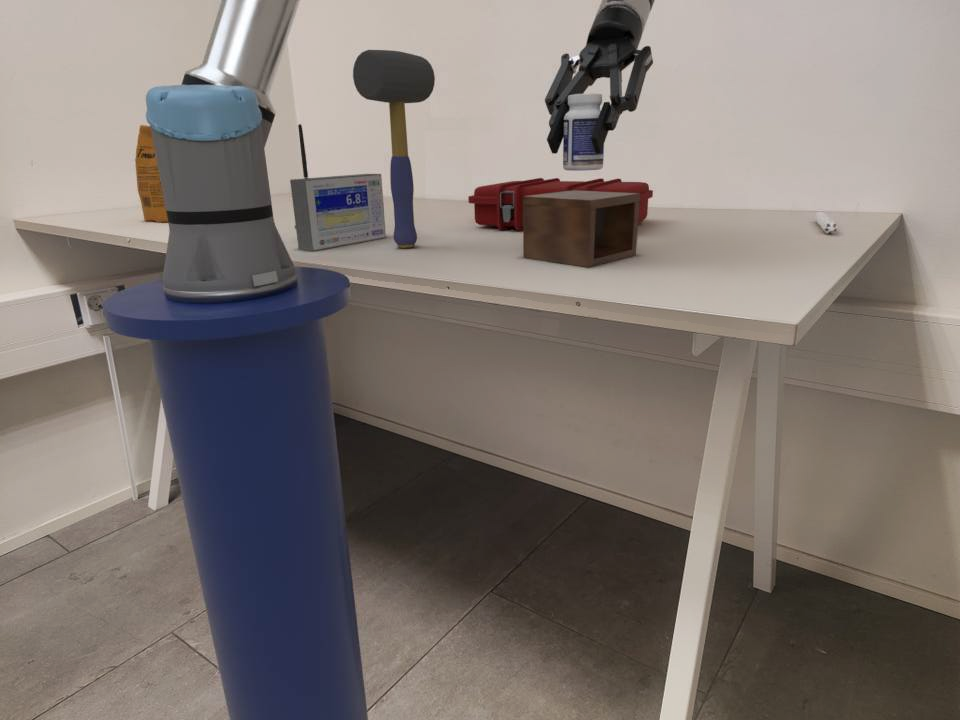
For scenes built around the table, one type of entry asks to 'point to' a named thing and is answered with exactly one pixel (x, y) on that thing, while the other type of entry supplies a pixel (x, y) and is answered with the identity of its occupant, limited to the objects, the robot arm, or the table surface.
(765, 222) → the table surface
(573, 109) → the pill bottle
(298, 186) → the electronic device
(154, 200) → the coffee package
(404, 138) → the rubber mallet
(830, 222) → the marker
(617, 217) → the shelf
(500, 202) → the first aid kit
